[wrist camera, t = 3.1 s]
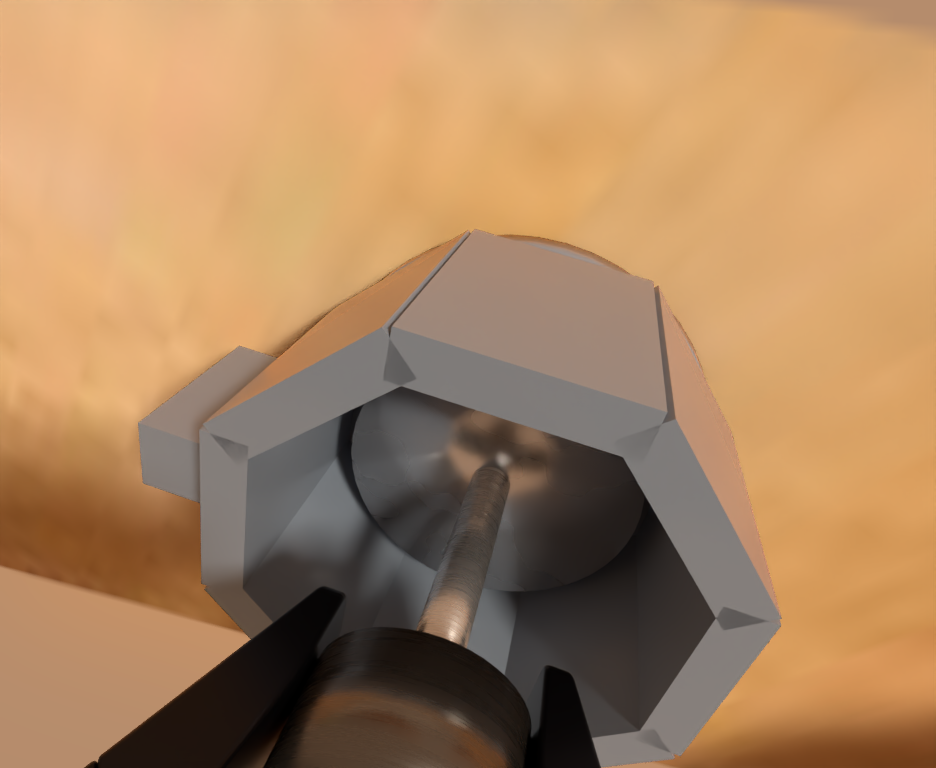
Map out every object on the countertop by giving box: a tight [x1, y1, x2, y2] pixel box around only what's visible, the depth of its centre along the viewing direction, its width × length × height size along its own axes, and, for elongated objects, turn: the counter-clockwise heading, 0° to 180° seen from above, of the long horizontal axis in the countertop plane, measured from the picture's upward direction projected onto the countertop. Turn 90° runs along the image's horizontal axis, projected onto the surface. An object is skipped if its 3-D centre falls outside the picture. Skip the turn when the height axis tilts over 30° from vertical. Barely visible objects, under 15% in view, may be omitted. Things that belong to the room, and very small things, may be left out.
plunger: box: [263, 386, 644, 768], centre depth 10 cm, size 6×6×8 cm
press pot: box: [138, 229, 782, 767], centre depth 12 cm, size 10×9×6 cm
